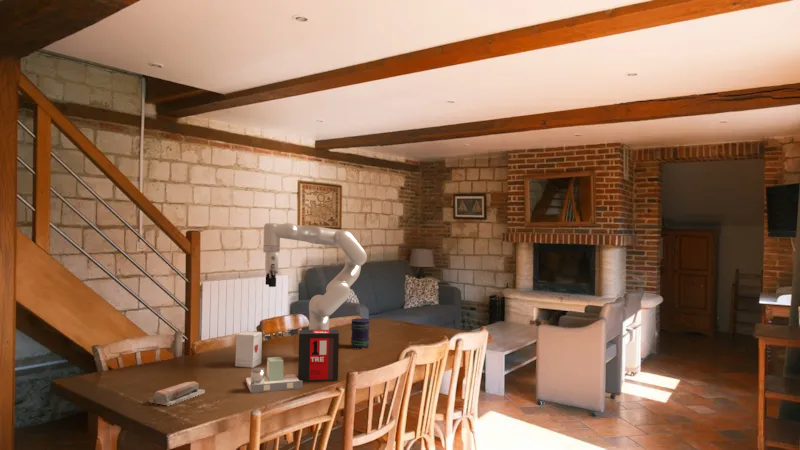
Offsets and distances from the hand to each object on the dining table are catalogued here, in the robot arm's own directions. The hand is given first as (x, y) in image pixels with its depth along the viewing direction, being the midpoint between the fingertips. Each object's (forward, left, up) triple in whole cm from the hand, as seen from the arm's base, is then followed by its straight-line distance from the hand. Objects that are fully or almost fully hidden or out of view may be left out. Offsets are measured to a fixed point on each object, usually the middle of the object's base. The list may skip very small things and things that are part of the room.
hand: (270, 285), depth 251 cm
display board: (+3, +35, -37) cm, 51 cm away
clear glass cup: (+10, +39, -35) cm, 54 cm away
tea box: (+2, +31, -35) cm, 47 cm away
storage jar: (-52, -21, -37) cm, 67 cm away
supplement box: (+9, 0, -37) cm, 38 cm away
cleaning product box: (-16, +31, -37) cm, 51 cm away
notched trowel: (+39, +41, -37) cm, 68 cm away
